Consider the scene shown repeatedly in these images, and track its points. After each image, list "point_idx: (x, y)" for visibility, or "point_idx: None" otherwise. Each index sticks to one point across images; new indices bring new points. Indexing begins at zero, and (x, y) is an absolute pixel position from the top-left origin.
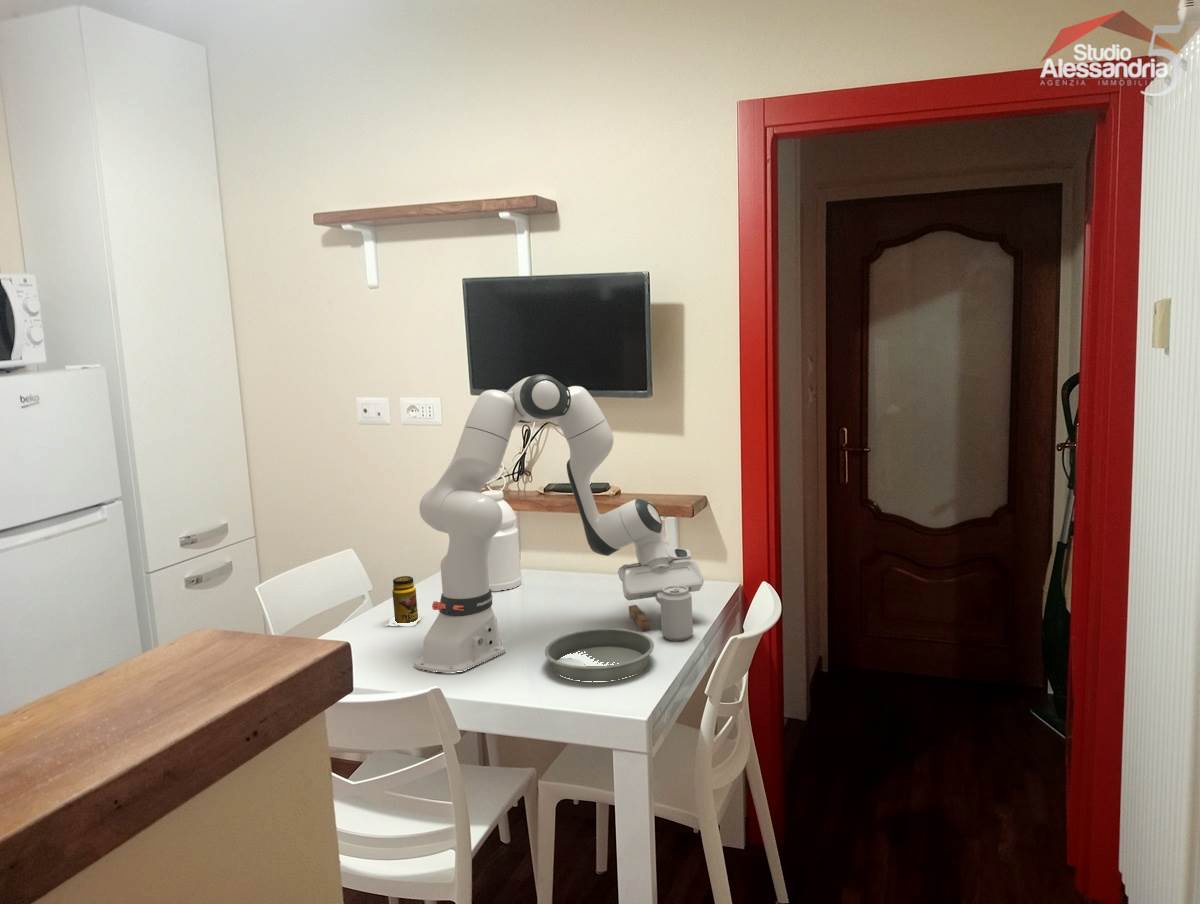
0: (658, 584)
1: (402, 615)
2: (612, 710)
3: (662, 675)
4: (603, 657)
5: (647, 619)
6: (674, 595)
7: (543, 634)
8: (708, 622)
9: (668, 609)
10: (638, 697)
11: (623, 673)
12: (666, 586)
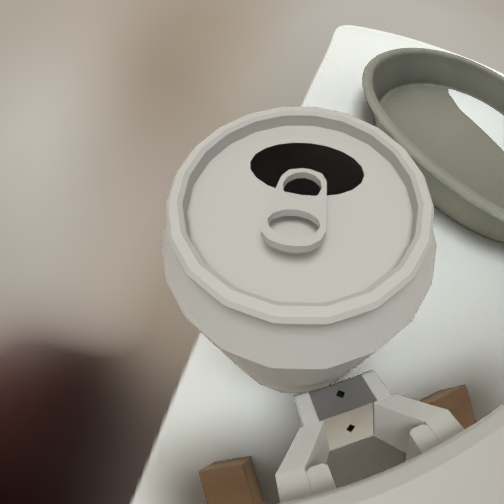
0: (481, 475)
1: None
2: (383, 35)
3: (331, 86)
4: (490, 177)
5: (443, 397)
6: (309, 125)
7: None
8: (145, 472)
9: (348, 187)
10: (358, 47)
11: (404, 73)
12: (392, 487)
